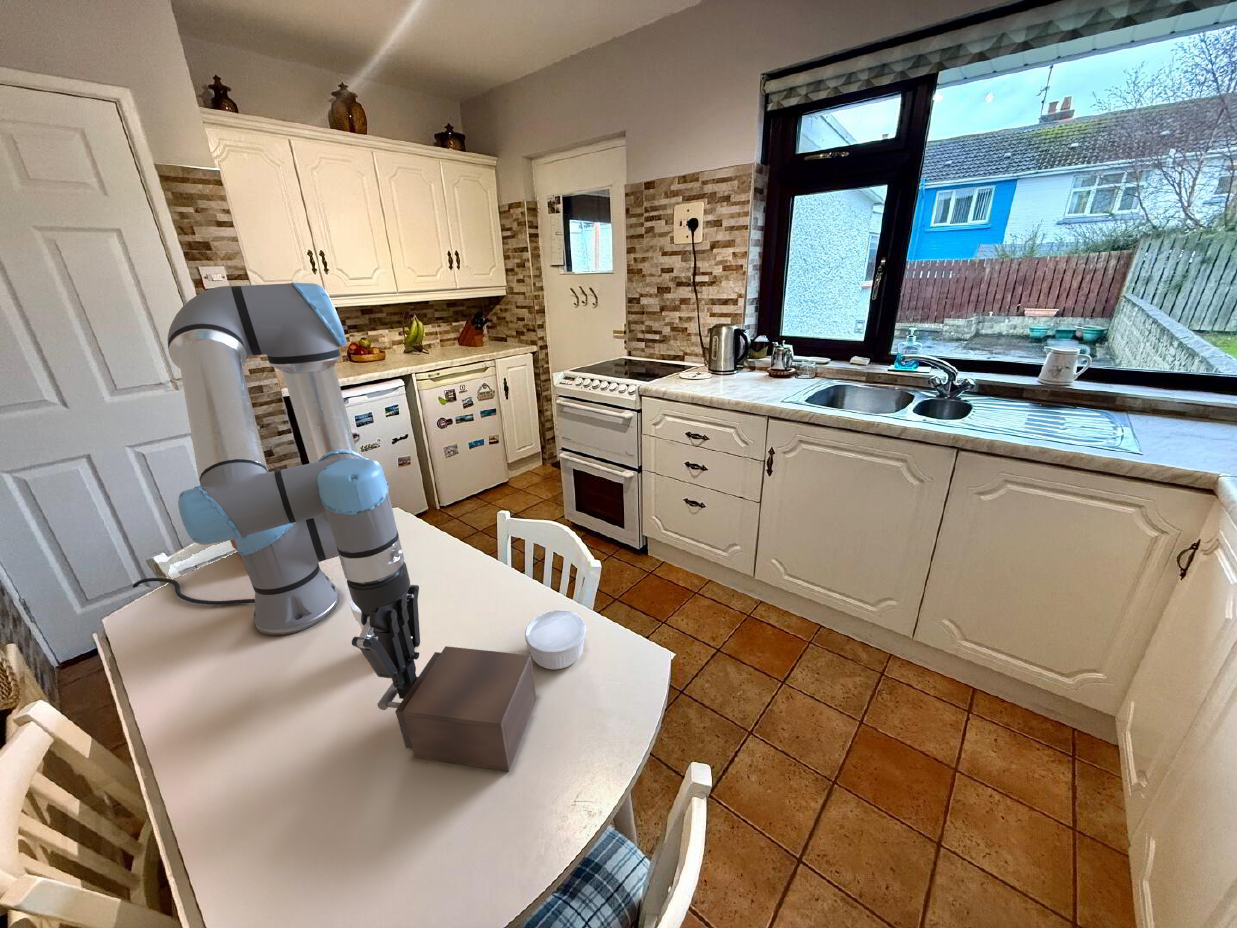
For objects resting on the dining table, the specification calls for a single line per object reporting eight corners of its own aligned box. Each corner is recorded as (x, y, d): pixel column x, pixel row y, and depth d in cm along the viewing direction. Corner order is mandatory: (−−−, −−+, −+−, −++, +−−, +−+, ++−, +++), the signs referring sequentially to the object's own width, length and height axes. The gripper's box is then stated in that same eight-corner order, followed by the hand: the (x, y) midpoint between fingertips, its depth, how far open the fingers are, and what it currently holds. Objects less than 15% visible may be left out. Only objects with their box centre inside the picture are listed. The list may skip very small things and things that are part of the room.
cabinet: (415, 758, 72) (402, 711, 68) (454, 688, 83) (445, 645, 79) (508, 771, 69) (500, 724, 66) (536, 698, 81) (530, 654, 77)
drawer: (373, 744, 73) (361, 706, 70) (414, 683, 83) (405, 648, 80) (491, 760, 70) (484, 722, 67) (518, 695, 80) (513, 660, 77)
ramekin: (545, 625, 97) (542, 603, 95) (596, 637, 93) (595, 615, 91) (516, 666, 87) (512, 643, 85) (572, 681, 84) (570, 658, 82)
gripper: (371, 602, 60) (409, 735, 69) (426, 545, 72) (452, 665, 81) (317, 597, 61) (361, 729, 70) (380, 542, 73) (410, 661, 82)
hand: (410, 695), depth 76 cm, fingers closed
